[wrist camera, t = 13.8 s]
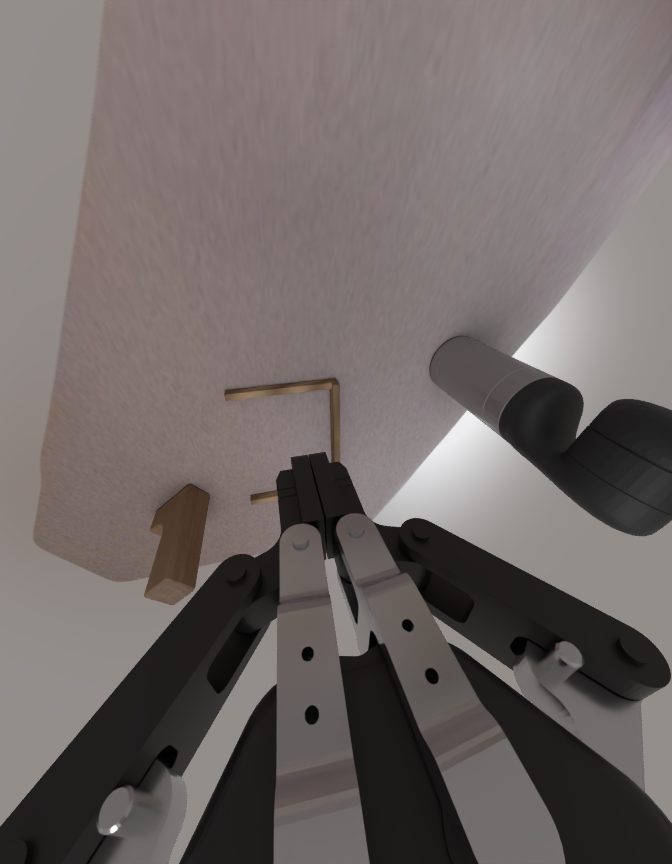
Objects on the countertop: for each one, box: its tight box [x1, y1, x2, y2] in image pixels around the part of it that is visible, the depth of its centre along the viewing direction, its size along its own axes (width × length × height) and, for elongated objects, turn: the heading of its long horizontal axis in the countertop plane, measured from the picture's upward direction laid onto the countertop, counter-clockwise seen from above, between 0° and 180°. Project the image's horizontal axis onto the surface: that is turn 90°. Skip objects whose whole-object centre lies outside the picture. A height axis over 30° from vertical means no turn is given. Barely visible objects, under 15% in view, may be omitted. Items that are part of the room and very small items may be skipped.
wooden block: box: [144, 484, 210, 605], centre depth 46 cm, size 9×4×18 cm, turn 127°
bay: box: [224, 378, 340, 504], centre depth 51 cm, size 17×23×2 cm
